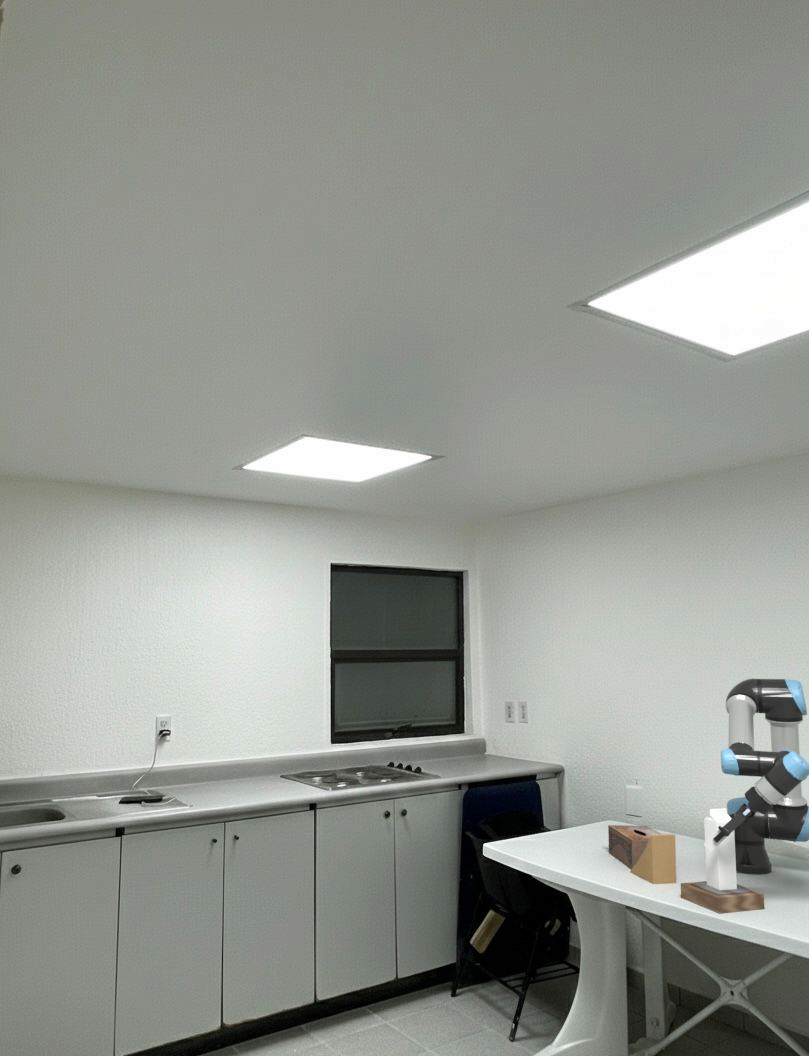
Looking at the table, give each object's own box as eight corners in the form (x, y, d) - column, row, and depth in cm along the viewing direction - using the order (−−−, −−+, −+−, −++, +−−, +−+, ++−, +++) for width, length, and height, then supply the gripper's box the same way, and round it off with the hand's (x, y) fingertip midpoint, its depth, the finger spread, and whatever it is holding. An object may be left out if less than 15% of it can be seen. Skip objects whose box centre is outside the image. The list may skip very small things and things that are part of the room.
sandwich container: (652, 871, 269) (650, 824, 272) (677, 883, 254) (675, 834, 257) (628, 872, 267) (627, 825, 270) (652, 884, 253) (651, 834, 255)
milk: (737, 889, 232) (734, 810, 236) (719, 890, 231) (716, 810, 234) (723, 884, 238) (720, 806, 242) (705, 885, 237) (703, 806, 240)
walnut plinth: (724, 893, 244) (723, 878, 244) (764, 908, 229) (763, 892, 230) (681, 897, 238) (680, 882, 239) (719, 913, 223) (718, 897, 224)
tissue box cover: (675, 872, 269) (674, 840, 271) (632, 871, 269) (632, 840, 270) (647, 854, 295) (646, 825, 296) (608, 853, 294) (608, 825, 296)
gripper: (769, 812, 220) (713, 862, 225) (778, 800, 241) (727, 846, 246) (747, 790, 224) (693, 840, 229) (758, 780, 245) (708, 826, 250)
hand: (711, 843), depth 237 cm, fingers open, 13 cm apart
